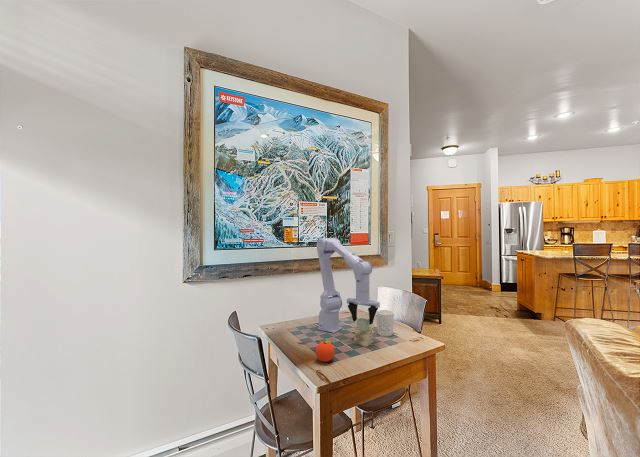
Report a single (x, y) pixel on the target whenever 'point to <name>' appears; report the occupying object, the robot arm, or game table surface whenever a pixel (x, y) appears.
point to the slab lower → (363, 341)
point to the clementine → (325, 351)
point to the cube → (363, 324)
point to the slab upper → (363, 334)
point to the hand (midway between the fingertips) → (362, 322)
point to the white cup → (385, 322)
